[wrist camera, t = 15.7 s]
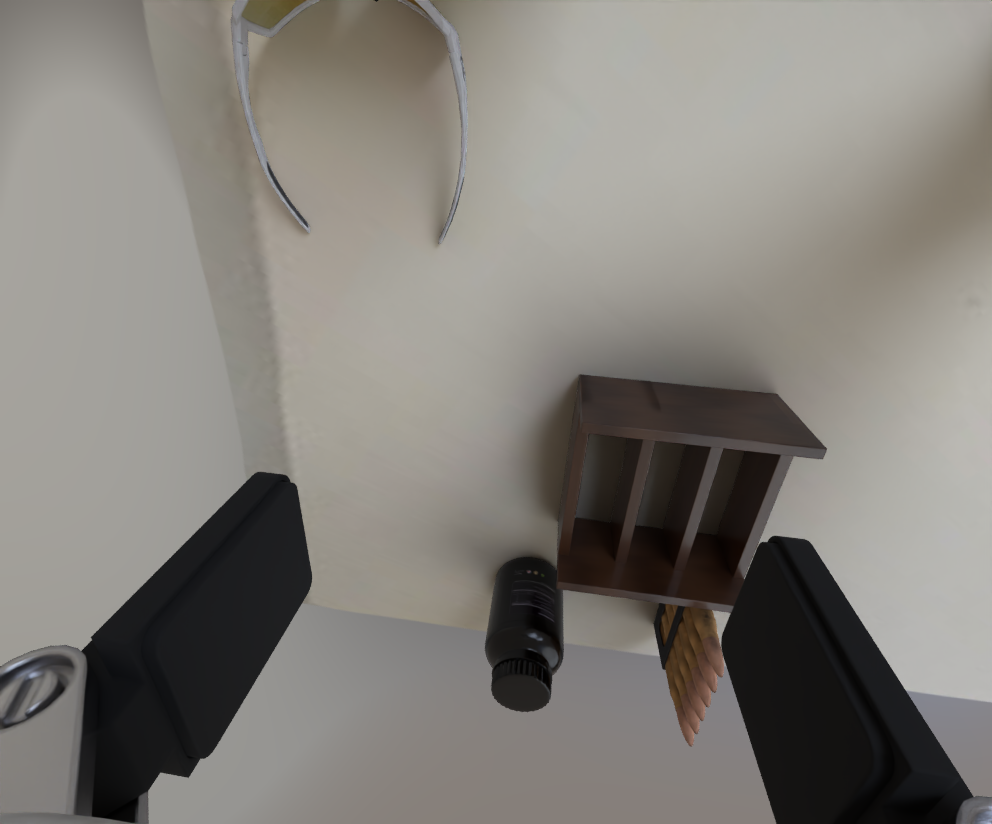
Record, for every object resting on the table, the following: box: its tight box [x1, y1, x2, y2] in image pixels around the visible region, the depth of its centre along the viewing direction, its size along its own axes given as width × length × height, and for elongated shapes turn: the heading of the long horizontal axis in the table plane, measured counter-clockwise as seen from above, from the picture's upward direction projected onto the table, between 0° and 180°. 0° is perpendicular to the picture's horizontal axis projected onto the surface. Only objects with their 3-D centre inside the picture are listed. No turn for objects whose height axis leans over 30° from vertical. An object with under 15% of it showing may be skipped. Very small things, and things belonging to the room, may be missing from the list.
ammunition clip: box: [654, 603, 724, 746], centre depth 42 cm, size 11×2×12 cm, turn 177°
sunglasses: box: [231, 0, 468, 245], centre depth 30 cm, size 14×15×5 cm
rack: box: [556, 375, 827, 613], centre depth 37 cm, size 15×15×8 cm
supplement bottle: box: [485, 557, 564, 712], centre depth 44 cm, size 7×7×12 cm
